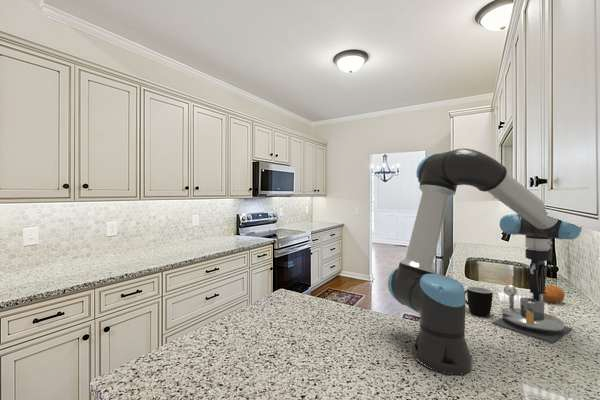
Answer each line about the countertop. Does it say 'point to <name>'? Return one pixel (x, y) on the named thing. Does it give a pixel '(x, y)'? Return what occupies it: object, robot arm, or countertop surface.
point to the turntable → (547, 324)
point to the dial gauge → (510, 294)
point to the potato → (553, 294)
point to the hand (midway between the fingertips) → (537, 310)
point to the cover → (532, 307)
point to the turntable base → (533, 331)
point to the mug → (479, 301)
